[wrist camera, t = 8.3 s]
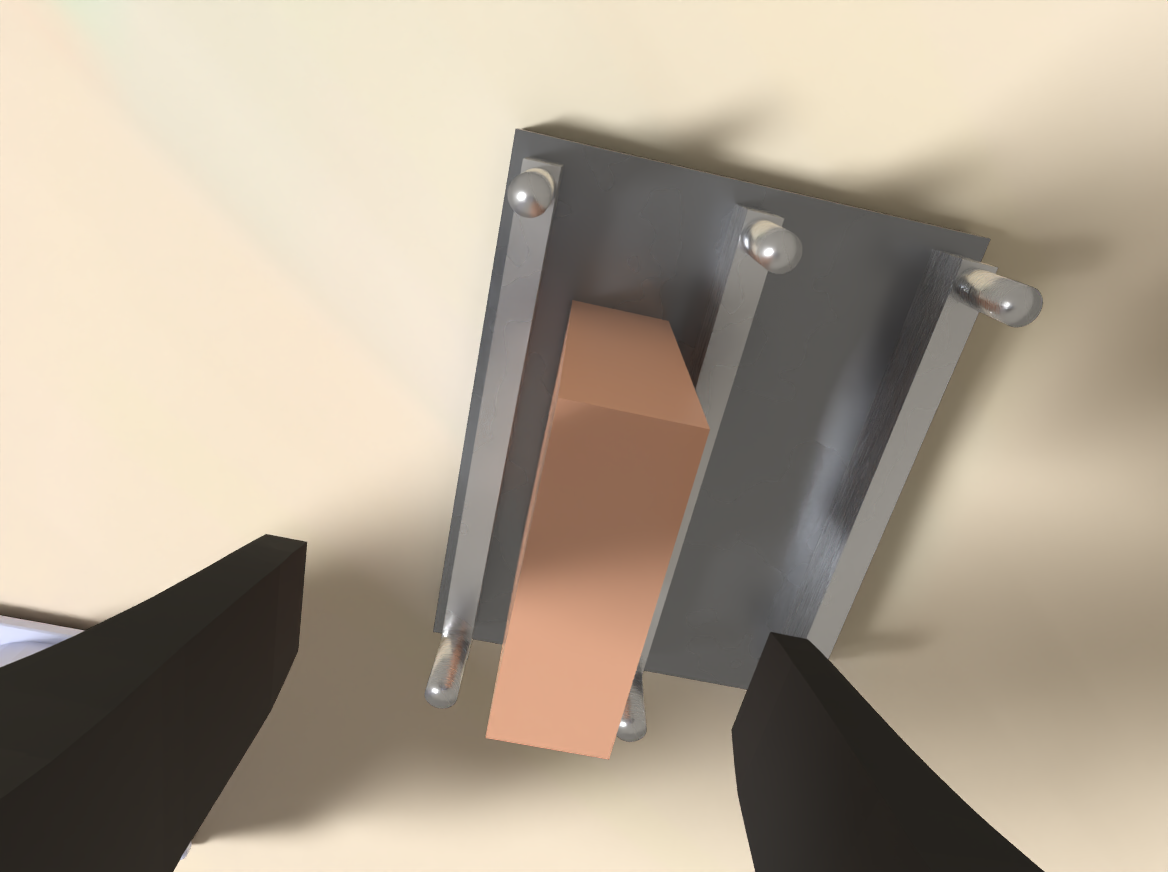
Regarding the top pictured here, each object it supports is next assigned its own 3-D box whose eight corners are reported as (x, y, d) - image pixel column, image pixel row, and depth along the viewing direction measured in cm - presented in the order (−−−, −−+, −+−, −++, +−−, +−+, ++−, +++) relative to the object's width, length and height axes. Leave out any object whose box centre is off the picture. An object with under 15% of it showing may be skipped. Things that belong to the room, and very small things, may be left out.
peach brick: (605, 560, 20) (609, 759, 14) (520, 543, 20) (485, 738, 14) (668, 320, 18) (710, 429, 11) (572, 299, 17) (558, 397, 11)
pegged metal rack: (787, 676, 23) (830, 794, 19) (440, 611, 22) (403, 720, 18) (970, 233, 18) (1084, 264, 14) (520, 129, 17) (495, 126, 13)
